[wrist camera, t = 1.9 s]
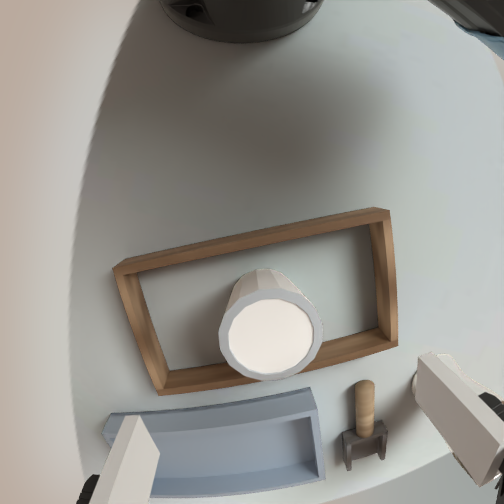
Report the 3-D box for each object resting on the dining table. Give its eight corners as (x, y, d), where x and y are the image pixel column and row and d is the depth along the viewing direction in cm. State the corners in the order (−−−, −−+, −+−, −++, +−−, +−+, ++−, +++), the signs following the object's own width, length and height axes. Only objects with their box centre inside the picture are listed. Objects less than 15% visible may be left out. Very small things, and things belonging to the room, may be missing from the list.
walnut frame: (125, 259, 26) (112, 268, 23) (374, 206, 25) (389, 210, 23) (164, 377, 28) (158, 395, 25) (384, 331, 28) (398, 345, 25)
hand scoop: (339, 387, 29) (344, 398, 27) (382, 373, 29) (390, 384, 27) (343, 460, 32) (347, 471, 30) (379, 448, 32) (384, 459, 30)
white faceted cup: (212, 272, 26) (204, 303, 19) (294, 251, 26) (314, 275, 19) (234, 344, 28) (234, 391, 21) (310, 325, 28) (330, 367, 21)
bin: (111, 413, 29) (101, 433, 26) (310, 387, 29) (317, 408, 26) (151, 478, 32) (146, 497, 28) (319, 458, 31) (325, 479, 28)
